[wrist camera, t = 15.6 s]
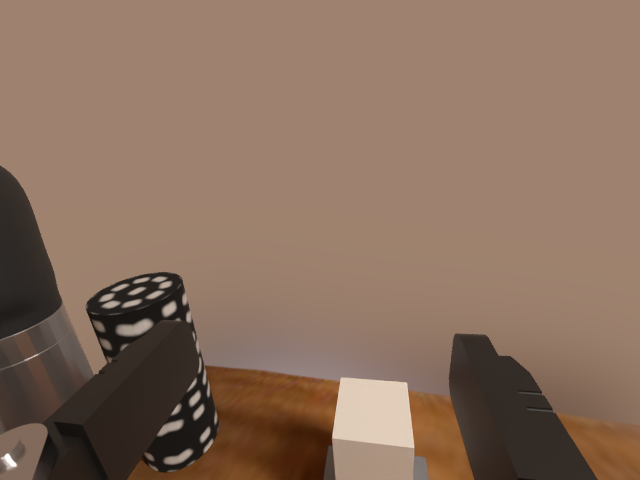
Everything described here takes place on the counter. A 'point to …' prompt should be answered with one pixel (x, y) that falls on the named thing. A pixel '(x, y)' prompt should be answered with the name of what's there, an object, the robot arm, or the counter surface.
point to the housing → (373, 431)
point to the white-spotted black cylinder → (134, 322)
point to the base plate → (418, 471)
